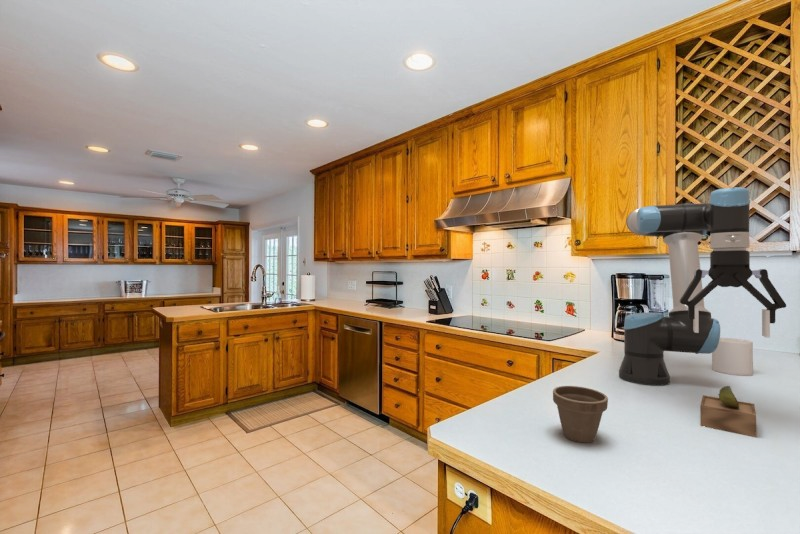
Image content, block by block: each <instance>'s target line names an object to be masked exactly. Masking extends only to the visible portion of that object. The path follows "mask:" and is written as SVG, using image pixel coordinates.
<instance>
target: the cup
mask: <svg viewBox="0 0 800 534" xmlns="http://www.w3.org/2000/svg"><path fill="white" fill-rule="evenodd" d="M753 343H754V342H753V341H751V340H747V339H742V338H733V337H732V338H731V337H720V339H719V343H718V346H717V348H716V350H715V351H714V352H713V353H711V368H712V371H713V372H717V373H720V374H725V375H732V376H738V377H739V376H741V377H751V376H753V374H754V350H753V349H754V348H753V347H754V346H753V345H754V344H753Z"/></svg>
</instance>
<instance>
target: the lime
mask: <svg viewBox="0 0 800 534" xmlns="http://www.w3.org/2000/svg"><path fill="white" fill-rule="evenodd" d="M718 398H719V399H720V401H721V402H722V403H724V404H725V405H727V406H729V407H732V408H739V404H738V402H737V401H738V400H737V397H736V396H735V393H734V392H733V390H732V387H731V386H729V385H726V386H722V387H721V388H720V389H719V393H718Z"/></svg>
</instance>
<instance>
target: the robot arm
mask: <svg viewBox="0 0 800 534" xmlns="http://www.w3.org/2000/svg"><path fill="white" fill-rule="evenodd" d="M750 204H751V200H750V192H749V189H748V188H746V187H742V186H741V187H740V186H739V187H725V188H719V189H716V190H713V191H711V193H710V196H709V202H705V203H704V202H703V203H687V202H686V203H685V202H684V203H677V204H665V205H664V204H662V205H661V204H660V205H648V206H642V207H639V208H637V209H636V208H635V209H634V210H633V211H631V212H630V213H629V214H628V215H627V217H626V220H625V221H626V222H625V223H626V227H627V229H628V230H629V231H630V232H631V233H633V234H635V235H638V236H643V237H662V242H663V243H664V244H666V245H667V246H668V258H669V271H670V283H671V292H672V293H671V294H672V305H673V306H672V307H673V308H672V309H671V310H670V311H669V312H668V316H665V315H664V313H663V312H658V311H657V312H653V311H652V312H650V311H649V312H637V313H636V312H635V313H631V314H628V315H626V316H625V317H624V323H623V325H624V326H623V330H624V332H623V333H624V334H623V335H624V341H623V342H624V347H623V349H624V355H623V358H622V361H621V364H620V365H619V366H620V367H619V369H618V377H619V378H620V379H622V380H624V381H627V382H630V383H633V384H639V385H640V384H641V385H646V386H648V385H649V386H666V385H669V384H670V383H671V375H670V373H669V370H668V368H667V365H666V362H665V359H664V357H665V356H664V353H665V352H673V353H689V354H691V353H692V354H696V355H699V354H702V355H703V354H704V355H705V354H712V353H713V352H714V351H715V350H716V348H717V346H718V343H719V339H720V338H721V324H720V321H719V320H718V319H716V318H713V317H712V313H711V311H709V310H708V309H707V308H706V307H705V301H704V298H705V297H706V296H707V295H709V294H710V293H711V292H712V291H713V290H714V289H716V288H717V287H721V288H728V287H732V288H740V287H742V288H743V289H745V291H747V292H748V293H749V294H750V295H752V296H753V297H754V299H756V300H757V301H758V302H760V304H761V305H762V306H764V307H765V308H763V309H761V335H762V336H763V337H764V338H771V326H770V325H771V324H775V323H776V312H777V310H778V309H784V308H786V307H787V303H786V302H785V301H784V299H783V298H782V297H781V295H780V293H779V292H778V290H777V289H776V288H775V286H774V285H773V283H772V282H771V280H770V279H769V273H768V270H767V269H766V268H760V269H754V270H751V267H750V260H751V257H750V254H751V253H750V251H749V250H747V249H749V248H750ZM708 232H709V233H710V237H709V247H710V248H709V249H711V250H712V251H710V253H709V255H710V257H709V258H710V259H709V264H710V266H709V270H705V269H701V263H700V253H699V252H700V251H699V242H700V241H701V240H702V239H703V236H704V235H706V234H707V233H708ZM706 276H708V277H710V278H711V281H710V282H709V283H708V284H707V285H706V286H705V287H704V288H703V282H702V281H703V280H702V279H704V278H705V277H706ZM752 276H754V277H755V278H756V279H758V280H759V281H760V283H761V285H762V287H763V288H764V289H765V291H766V292H767V294H768V295H769V297H770V298H771V300H772V301H773V303H772V302H771V301H770V300H769V299H768V298H767V297H766V296H764V295H763V294H762V292H760V291H759V290H758V289H757V288H755V286H754V285H753V284H752V283H750V281H749V279H750V278H751V277H752Z"/></svg>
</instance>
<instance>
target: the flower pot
mask: <svg viewBox="0 0 800 534" xmlns="http://www.w3.org/2000/svg"><path fill="white" fill-rule="evenodd" d="M552 400H553V403H554V404H555V405H556V408H557V413H558V415H559V421H560V426H561V428H562V430H561V431H562V432H563V435H564V436H565V437H566V438H567V439H569V440H570V441H574V442H578V443H583V444H584V443H592V442H594V440H595V439H596V437H597V435H598V434H597V433H598V432H599V431H598V430H599V428H600V423H601V421H602V417H603V413H604V412H605V411H607V409H608V404H609V403H608V400H609V398H608V396H607V395H606V394H605V393H603V392H601V391H598V390H596V389H593V388H590V387H589V388H588V387H585V386H576V385H575V386H574V385H561V386H557V387H554V389H553V390H552Z"/></svg>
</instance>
